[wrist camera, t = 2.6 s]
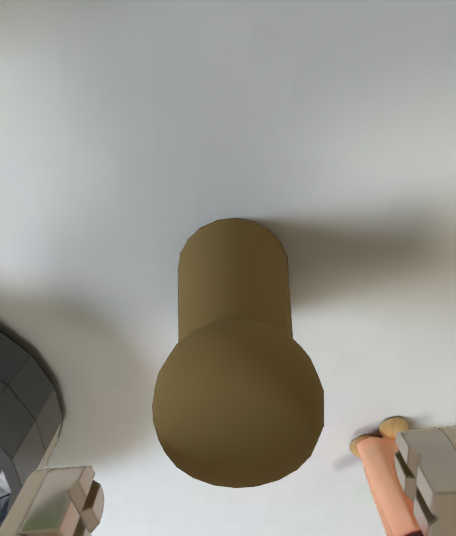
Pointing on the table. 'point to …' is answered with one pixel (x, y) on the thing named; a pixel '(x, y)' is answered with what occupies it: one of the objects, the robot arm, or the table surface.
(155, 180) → the table surface
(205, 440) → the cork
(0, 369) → the bowl
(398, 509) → the grandmother figurine
